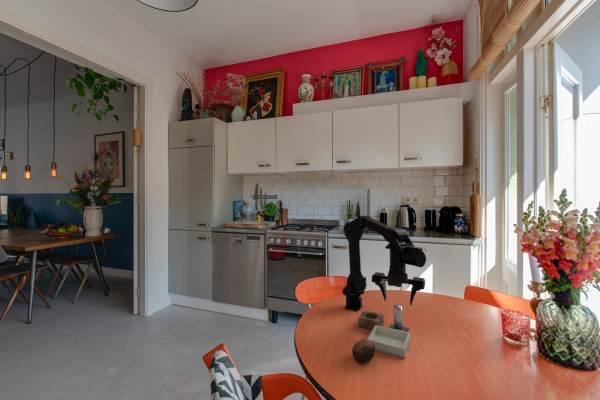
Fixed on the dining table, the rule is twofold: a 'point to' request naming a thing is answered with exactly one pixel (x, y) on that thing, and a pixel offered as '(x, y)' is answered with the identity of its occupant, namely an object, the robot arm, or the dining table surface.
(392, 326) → the mat
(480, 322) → the dining table surface
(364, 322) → the brown hollow block
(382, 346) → the tray
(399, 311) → the pin
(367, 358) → the brown coconut
